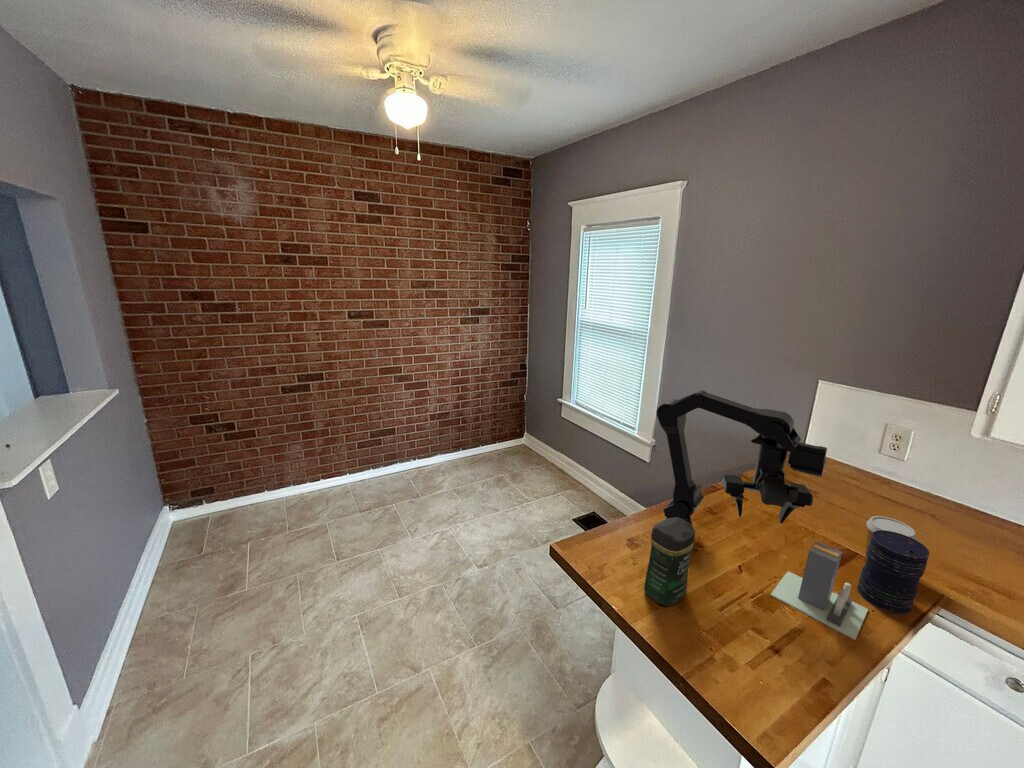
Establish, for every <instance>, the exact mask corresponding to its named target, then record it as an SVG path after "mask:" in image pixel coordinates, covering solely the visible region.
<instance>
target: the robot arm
mask: <svg viewBox="0 0 1024 768" xmlns="http://www.w3.org/2000/svg"><path fill="white" fill-rule="evenodd" d="M696 409H701V410H704V411H707V412H709V413H712V414H714V415H718V416H721V417H723V418H727V419H729V420H732V421H734V422H737V423H741V424H743V425H746V426H747V427H749V428H750V429H752V430H753V431H754V432H755V433H757V435H754V437H753V438H752V439H751V440H750V441H751V443H753V444H755V445H759V449H758V455H757V460H756V461H755V471H754V474H753V476H752V480H753V482H749V481H743V479H742V477H741V476H740V475H734V474H728V473H726V474H724V475H723V477H722V480H721V485H722V486H723V490H724V492H725V493H726V494H728V495H730V497H732V498H734V501H735V505H736V509H737V514H738V517H739V518H741V517H742V515H743V502H744V499H745V497H744V493H745V491H753V492H756V493H757V492H758V493H760V499H761V502H762V503H763V504H764V505H767V506H771V505H772V506H777V507H779V508H780V510H779V517H778V522H779V524H783V523H784V522H785V520H787V518H788V517H789V515H790V514H792V512H793V511H794V510H796V509H798V508H805V507H806V506H809V507H811V506H812V505H813V502H814V495H813V494H812V493H811V491H810V490H809V488H808V487H807V486H806V485H805V484H800V483H793V482H788V483H787V484H786V480H785V472H784V470H785V466H786V460H787V456H788V455H787V454H788V452H789V456H788V460H787V464H788V465H790V466H789V468H792V470H793V471H796V472H800V473H804V474H807V475H811V476H815V477H818V478H822V477H823V474H824V470H825V466H826V462H827V458H826V456H827V452H828V451H827V450H828V448H827V447H825V446H820V445H813V444H809V443H804V442H801V441H802V439H801V436H800V435H799V434H798V432H797V431H796V429H795V421H794V419H793V417H792V416H791V415H790V414H789V413H788V412H785V411H781V410H777V409H771V408H770V409H769V408H755V407H751V406H748V405H746V404H742V403H739V402H736V401H734V400H731V399H727V398H725V397H721V396H718V395H715V394H712V393H709V392H707V391H706V390H702V389H700V390H697V391H695V392H693V393H692V394H689V395H687V396H684V397H682V398H680V399H677V398H671V399H669V400H667V401H666V402H664V403H662V404H660V405H659V406H658V408H657V409H656V417H657V420H658V422H659V425H660V427H661V428H662V430H663V432H664V433H665V435H666V438H667V440H666V441H667V445H668V450H669V457H670V462H671V468H672V471H673V478H674V488H673V493H672V500H671V501H670V502H669V503H668V504H666V506H665V507H664V508H663V513H664V514H663V515H664V517H665V519H668V518H673V517H679V518H681V519H683V520H685V521H686V522H688V523H690V524H691V525H692V526H693V522H692V517H691V516H692V515H693V514H694V513H695V512H696V511H697V509H698V508H699V507H700V506H701V504H702V502H703V500H704V495H703V492H702V485H701V484H696V483H695V481H694V480H693V476H692V470H691V465H690V460H689V459H690V457H689V453H688V448H687V443H686V442H687V441H686V437H685V436H686V434H685V426H686V421H687V414H688V413H690V412H692V411H694V410H696ZM665 519H664V520H665Z"/></svg>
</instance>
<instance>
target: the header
mask: <svg viewBox="0 0 1024 768" xmlns="http://www.w3.org/2000/svg"><path fill="white" fill-rule="evenodd" d="M802 579H803V576H799V575H797V574H795V573H793V572H791V571H789V570H788V571H786V573H785V574H784V576H783V577H782V578H781V580H780V581H779V582H778V583H777V585H776V586H775V588H774V589H773V590H772V592H771V593H770V595H769V596H771V597H773V598H774V599H777V600H778V601H780V602H782V603H784V604H785V605H787V606H789V607H792V608H793V609H795V610H798V611H799V612H801V613H803V614H804V615H806V616H809V617H810V618H813V619H815V620H816V621H818V622H819V623H822V624H824V625H825V626H828V627H829V628H831V629H833V630H834V631H837V632H838V633H841V634H842V635H845V636H847V637H848V638H851V639H852V640H854V641H856V639H857V638H858V636H859V635H858V634H859V633H860V630H861V628H862V626H863V623H864V621H865V618H866V616H867V614H868V611H869V608H867V607H864V606H863V605H860V604H858V603H856V602H854V601H853V599H852V598H851V597H850V593H851V589H852V584H851V583H849V582H845V583H844V584H843V588H841V589H840V593H835V592H833V591H832V594H831V597H830V601H829V602H828V604H827V606H826V608H825V610H824V611H822V610H820V609H818V608H816V607H814V606H812V605H810V604H808V603H806V602H804V601H803V600H801V599H799V598H798V596H799V592H800V587H801V583H802Z"/></svg>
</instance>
